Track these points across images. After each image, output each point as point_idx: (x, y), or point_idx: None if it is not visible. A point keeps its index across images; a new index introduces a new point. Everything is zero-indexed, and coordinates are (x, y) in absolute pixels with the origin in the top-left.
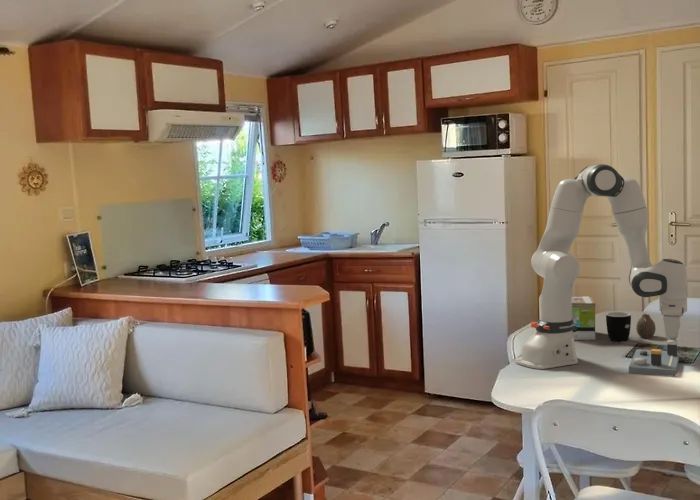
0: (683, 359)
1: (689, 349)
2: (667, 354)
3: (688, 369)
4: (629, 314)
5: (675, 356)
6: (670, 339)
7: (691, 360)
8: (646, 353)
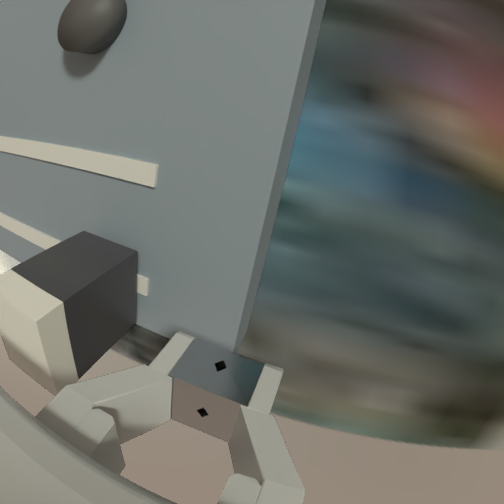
0: None
1: (455, 429)
2: (120, 237)
3: None
4: None
5: None
6: (118, 377)
7: None
8: (68, 48)
